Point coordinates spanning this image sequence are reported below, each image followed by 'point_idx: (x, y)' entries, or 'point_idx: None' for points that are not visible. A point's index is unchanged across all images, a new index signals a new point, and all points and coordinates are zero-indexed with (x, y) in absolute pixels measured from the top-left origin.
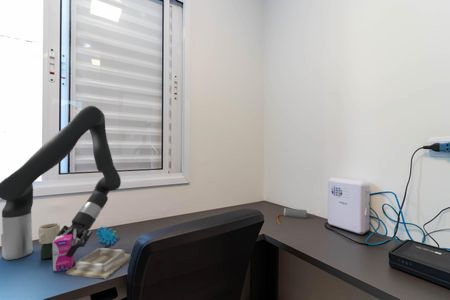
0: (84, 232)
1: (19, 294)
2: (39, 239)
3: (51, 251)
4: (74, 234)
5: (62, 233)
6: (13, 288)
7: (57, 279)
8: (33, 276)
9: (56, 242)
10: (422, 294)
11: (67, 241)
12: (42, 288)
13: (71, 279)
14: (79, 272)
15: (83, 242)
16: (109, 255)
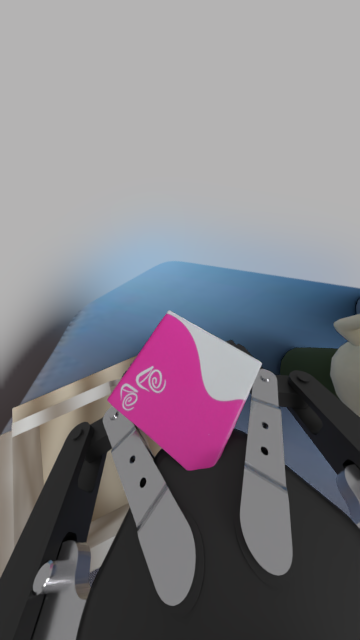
0: (25, 598)
1: (146, 273)
2: (355, 315)
3: (225, 341)
4: (145, 479)
5: (331, 436)
6: (180, 272)
7: (136, 333)
8: (200, 306)
9: (157, 328)
10: None
11: (121, 381)
12: (128, 302)
13: (105, 352)
14: (99, 374)
15: (93, 468)
16: (102, 518)
